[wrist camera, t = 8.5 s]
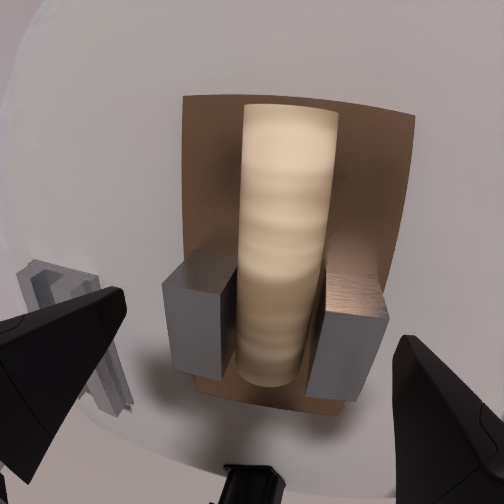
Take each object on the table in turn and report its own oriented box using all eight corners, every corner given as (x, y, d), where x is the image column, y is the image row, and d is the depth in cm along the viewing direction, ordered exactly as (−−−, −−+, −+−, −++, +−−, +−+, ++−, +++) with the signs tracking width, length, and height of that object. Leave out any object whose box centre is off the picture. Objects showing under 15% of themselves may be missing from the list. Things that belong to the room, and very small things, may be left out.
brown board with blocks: (338, 406, 22) (335, 456, 17) (200, 382, 24) (178, 426, 20) (409, 116, 13) (445, 113, 8) (190, 97, 15) (142, 90, 11)
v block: (133, 400, 28) (120, 419, 26) (75, 375, 30) (61, 390, 27) (97, 275, 22) (74, 293, 19) (34, 259, 23) (13, 272, 21)
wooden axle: (304, 347, 19) (295, 392, 15) (245, 336, 20) (226, 378, 16) (337, 115, 13) (339, 110, 9) (257, 109, 14) (231, 102, 10)
